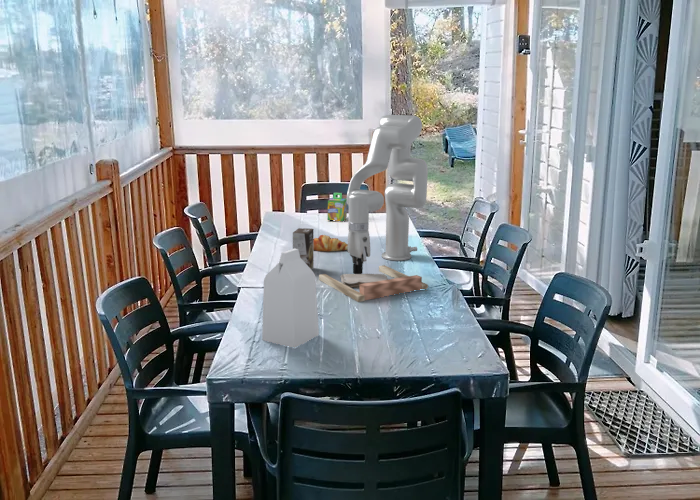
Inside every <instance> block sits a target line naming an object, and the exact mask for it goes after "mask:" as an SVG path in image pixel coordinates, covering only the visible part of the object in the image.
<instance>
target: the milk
mask: <svg viewBox="0 0 700 500" xmlns="http://www.w3.org/2000/svg"><path fill="white" fill-rule="evenodd" d="M317 294H318V293H317V281H316V274H315V272H314V271H313V269H312V270H311V269H310V268H309V267H308V265H307V264H306V263H305V262H304V261H303V260H302V259H301V258H300V254H299V250H298V249H295V248H294V249H293V248H291V249H289V250H285V251H282V252H281V255H280V258H279V261H278V262H277V264H276V265H275V266H274V267H273V268H272V269H271V270H270V271H268V273H267V274H266V275H265V276H264V279H263V294H262V295H263V297H262V299H263V300H262V301H263V302H262V329H261V330H262V331H261V332H262V333H261V335H262V337H261V341H264V342H267V341H268V342H269V343H271V342H272V344H275V343H276V345H278V344H280V345H279V346H282V345H285V346H284V347H286V346H289V347H294V348H295V347H297V346H299V345H301V344H302V345H305V344H306V343H308V342H310V341H312V340H313V339H312V338H314V337H315V338H317V337H319V336H320V329H319V312H318V310H319V309H318V296H317ZM318 335H319V336H318ZM316 336H317V337H316ZM315 338H314V339H315ZM311 339H312V340H311ZM309 340H310V341H309ZM307 341H308V342H307ZM268 342H267V343H268ZM305 342H306V343H305ZM302 345H301V346H302ZM289 347H288V348H289ZM299 347H300V346H299ZM297 348H298V347H297ZM295 349H296V348H295Z"/></svg>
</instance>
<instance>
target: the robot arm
mask: <svg viewBox="0 0 700 500" xmlns="http://www.w3.org/2000/svg"><path fill="white" fill-rule="evenodd" d="M422 129H423V124H422V120H421V118H420V117H418V116H417V115H407V114H406V115H405V114H403V115H402V114H385V115H383V116H381V117H380V119H379V126H378V127H376V128H375V129H374V131H373V133H372V137H371V142H370V146H369V150H368V153H367V158H366V161H365V163H364V164H362V165H361V166H360V167H359V168H358V169H357V170H356V172H354V174H353V176H352V177H351V179H350V182H349V184H348V189H347V193H346V199H347V207H348V224H347V225H348V228H347V229H348V234H347V244H348V250H347V252H348V254H349V256H350V257H351V258H352V260H351V261H352V274H363V267H364V265H363V264H364V263H365V262H367V259H368V258H369V257H370V256H371V236H370V231H369V229H370V228H369V225H370V224H369V223H370V222H369V219H370V217H369V216H370V215H369V214H370V212H376V211H379V210H381V208H383V206H384V203H385V210H386V212H385V214H386V215H385V216H386V220H385V221H386V223H385V224H386V225H385V251H383V252H381V257H382V258H383V259H384V260H389V261H398V262H399V261H407V260H410V259H412V254H411V253H412V252H417V251H418V247H417V246H409V232H410V231H409V229H410V228H409V227H410V215H409V213H408V210H407V209H406V208H411V209H421V208H423V207H424V206H425V205H426V203H427V193H428V191H427V190H428V175H429V174H428V172H429V171H428V170H429V169H428V164H427V162H426V161H425V160H424V159H422V158H418V157H411V156H412V155H411V144H413V143H414V141H416V139H417V138H418V137H419V136H420V134H421V132H422ZM387 169H388V172H389V177H390V178H391V179H393V180H396V181H405V182H412V183H413V184H411V183H410V184H409V183H399V182H395V183H394V182H393V183H390V184H388V185H387V186H386V187H385V190H384V195H383V193H382V192H379V191H377V190H369V189H361V186H362V184H363V183H364V182H365V181H366V180H367V179H369V178H371V177H372V176H374V175H377V174H379V173H382V172H384V171H386V170H387Z"/></svg>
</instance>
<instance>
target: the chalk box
mask: <svg viewBox="0 0 700 500" xmlns="http://www.w3.org/2000/svg"><path fill="white" fill-rule="evenodd" d="M337 195H338V197H337ZM347 209H348V204H347V197H346V198H344V197H343V193H342V192H333V196H332V197H330V198H329V199H328V200H327V220H335V221H344V220H345V219H346V220H347V218H346V217H347V216H348V215H347V213H348V210H347ZM327 220H326V221H327ZM346 220H345V221H346ZM335 221H334V222H335ZM345 221H344V222H345Z"/></svg>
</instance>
